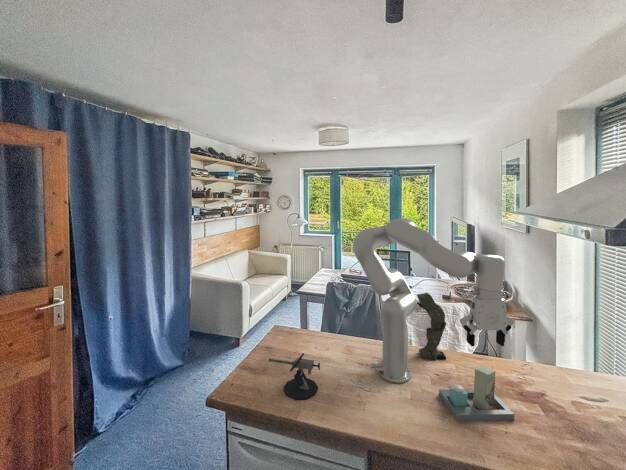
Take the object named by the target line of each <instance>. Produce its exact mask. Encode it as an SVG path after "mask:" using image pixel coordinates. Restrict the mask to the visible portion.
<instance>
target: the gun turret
mask: <svg viewBox="0 0 626 470" xmlns="http://www.w3.org/2000/svg"><path fill="white" fill-rule="evenodd" d="M304 355H305V353H304V352H302V354H301V355H300V356H299V357H297V358H296V359H294V360H293V361H288V360H281V359H274V358H268V362H271V363H278V364H285V365H290V366H291V368H290V370H289V372H293V371H294V369H298V370H296V373H295V374H294V375H293V377H294V378H293V379H290V380H288V381H286V383H285V385H284V386H283V389H282V390H283V392H284V394H286V395H285V397H287V396H288V397H287V398H289V397H290V398H289V399H291V398H292V399H291V400H293V399H294V401H307V400H309V399H311V398H312V397H315V396H316V394H317V392H318V390H319V386H318V385H317V383H316V381H315V380H313V379H310V378H308V377H307V376H306V375H305V372H304V370H307V374H308V375H311V374H312V370H313V369H314V367H316V368H317V370H318V371H320V370H321V369H320V368H321V366H320V365H321V364H320V362H318V363H317V364H315V361H314V359H307V358H306V359H305V358H303V356H304Z"/></svg>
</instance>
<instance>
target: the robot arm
mask: <svg viewBox="0 0 626 470" xmlns="http://www.w3.org/2000/svg"><path fill="white" fill-rule="evenodd" d="M396 243H397V244H399V245H401V246H402V247H405V248H406V249H409V250H411V251H412V252H413V253H416V254H418V255H419V256H421V258H422V259H423V260H425V261H426V262H428V263H429V264H430V265H431V266H433V267H434V268H435V269H438V270H440V271H441V272H443V273H445V274H447V275H449V276H451V277H455V278H458V279H464V278H467V277H469V276H470V275H473V274H475V275H476V277H475V278H476V279H475V280H476V281H475V283H476V284H475V289H472V290H471V294H472V295H473V297H472V300H471V304H470V307H469V308H470V309H469V314H468V315H466V316H464V317H461V318H460V319H459V323H460V324H461V327H462V328H463V329H464V330H465V332H466V342H467V344H469V345H470V346H471V347H475V343H476V342H475V340H476V335H475V332H476V331H477V330H479V331H496V335H495V336H496V338H495V343H497V344H498V345H500V346H501V347H505V342H506V335H508V332H509V331H510V330H511V329H512V326H513V325H514V324H515V320H514V319H512V318H511V317H509V316H508V313H507V304H506V299H505V298H503V295H504V290H503V289H504V279H505V265H506V261H505V259H504V257H503V256H501V255H495V254H482V253H476V252H472V251H465V250H464V251H461V252H459V253H457V252H455V251H453V250H451V249H449V248H447V247H445V246H443V245H442V244H441V243H439V242H438V241H437V240H436V238H435V236H434V235H433V234H432V233H430V232H428V231H426V230H424V229H422V228H421V227H420V228H419V227H418V226H416V224H415V222H414V221H412V219H409V218H407V217H406V218H405V217H404V218H403V217H401V218H394V219H392V220H390V221H389V222H388V223H387V224H384V225H381V226H377V227H369V228H364V229H362V230H360V231H359V232H358V233H357V234H356V236H355V238H354V240H353V245H352V246H353V247H352V249H353V253H354V255H355V258H356V259H357V261H358V263H359V265H360V266H361V268H362V270H363V272H364V275H365V276H366V278H367V280H368V282H369V284H370V285H371V288H372V289H373V291H374V292H375V294H377V295H379V296H386V295H389V296H390V297H388V298H386V300H384V301H383V303H382V305H381V309H380V313H381V321H382V359H380V360H379V361H380V362H378V363H375V362H373V363H372V362H370V364H369V365H370V366H369V367H370V369H371V370H373V369H374V370H375V372H378V375H379V377H380V378H382V379H383V380H385V381H387V382H390V383H394V384H401V383H403V384H404V383H406V382H408V381H410V380H411V378H412V372H411V370H410V369H409V368H408V346H409V340H408V339H409V330H408V329H409V328H408V323H407V318H408V317H409V316H410V315H411V314H412V313H414V312H415V310H416V309H417V300H416V297H415V294H414V293H413V290H412V289H411V288H410V286H409V284H408V282H407V281H406V278H405V277H404V275H403V274H402V272H400V270H398V269H396V268H392V267H388V268H387V267H386V265H385V263H384V261H383V259H382V258H381V256H380V255H379V254H378V253H377V252H376V251H375V249H378V248H379V249H380V248H383V247H385V246H389V245H393V244H396ZM467 323H469V324H468V325H467Z"/></svg>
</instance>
